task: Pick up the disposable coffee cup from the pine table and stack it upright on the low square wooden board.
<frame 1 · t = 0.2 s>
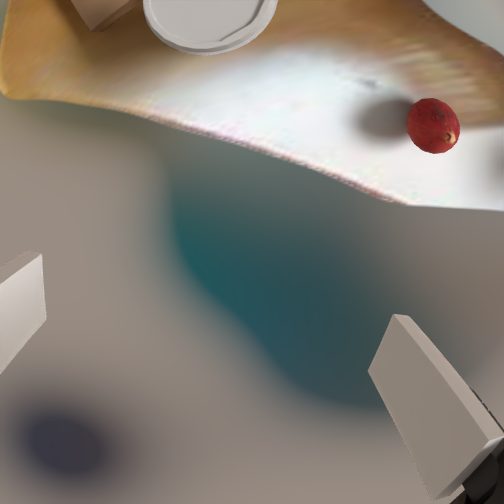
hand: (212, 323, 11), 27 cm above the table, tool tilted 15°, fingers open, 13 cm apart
disposable coffee cup: (225, 11, 26), on the table
onion: (418, 117, 31), on the table
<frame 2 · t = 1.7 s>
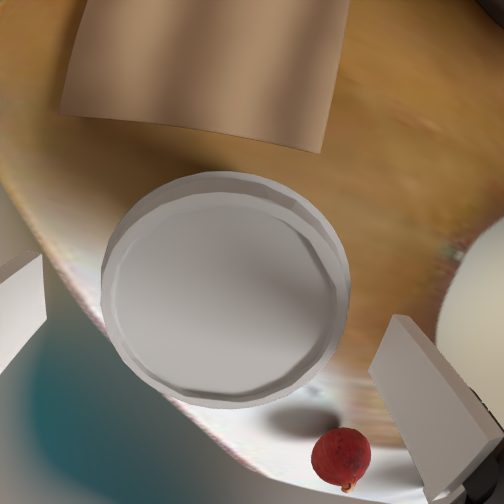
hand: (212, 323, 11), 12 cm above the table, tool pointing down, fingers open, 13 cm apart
square wooden board: (213, 17, 17), on the table
disposable coffee cup: (231, 226, 22), on the table
onion: (333, 428, 30), on the table
jar: (446, 470, 37), on the table
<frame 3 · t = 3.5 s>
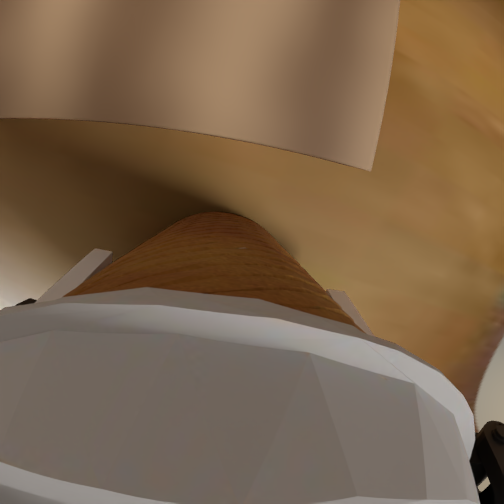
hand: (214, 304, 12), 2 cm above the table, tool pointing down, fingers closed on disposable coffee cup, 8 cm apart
disposable coffee cup: (216, 281, 14), on the table, touching gripper
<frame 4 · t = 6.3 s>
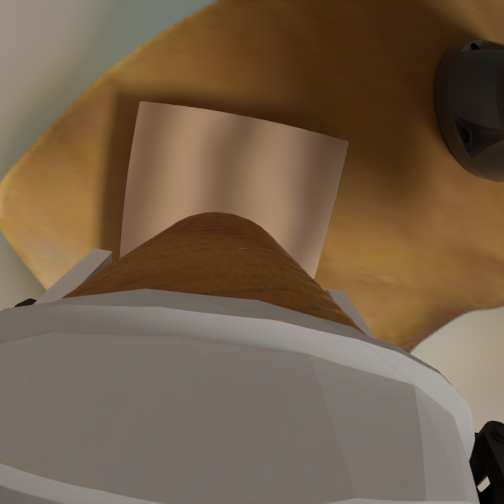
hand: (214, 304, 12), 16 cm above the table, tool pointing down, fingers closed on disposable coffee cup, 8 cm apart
square wooden board: (225, 212, 27), on the table
disposable coffee cup: (216, 282, 14), point 14 cm above the table, touching gripper
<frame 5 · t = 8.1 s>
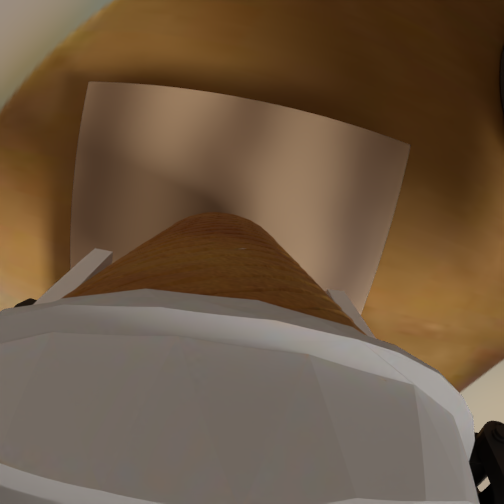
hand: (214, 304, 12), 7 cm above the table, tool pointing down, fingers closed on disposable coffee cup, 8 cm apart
square wooden board: (222, 247, 19), on the table
disposable coffee cup: (216, 282, 14), point 5 cm above the table, touching gripper
when the fingers open (5 cm above the table, at t = 9.4 s): disposable coffee cup stays where it is, resting on square wooden board.
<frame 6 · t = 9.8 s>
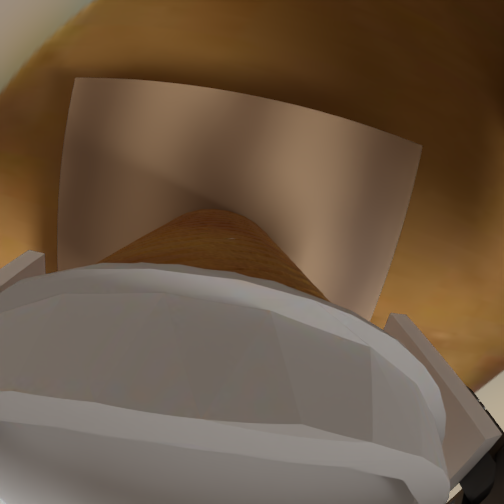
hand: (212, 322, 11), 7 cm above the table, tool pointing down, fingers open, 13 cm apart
square wooden board: (220, 255, 17), on the table
disposable coffee cup: (212, 276, 15), point 3 cm above the table, touching square wooden board
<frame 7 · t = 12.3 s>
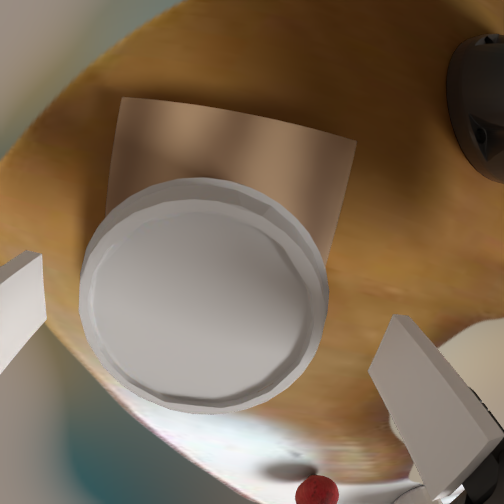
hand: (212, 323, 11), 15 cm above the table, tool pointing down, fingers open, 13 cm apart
square wooden board: (218, 220, 25), on the table
disposable coffee cup: (214, 230, 22), point 3 cm above the table, touching square wooden board
onion: (312, 474, 37), on the table
jar: (411, 495, 45), on the table
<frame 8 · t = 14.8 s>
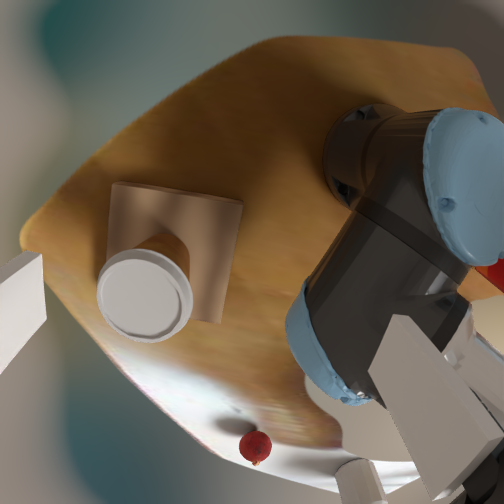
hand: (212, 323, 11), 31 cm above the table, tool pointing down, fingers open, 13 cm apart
square wooden board: (171, 249, 42), on the table
disposable coffee cup: (165, 257, 39), point 3 cm above the table, touching square wooden board
onion: (254, 430, 54), on the table
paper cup: (484, 257, 45), on the table
jar: (353, 467, 62), on the table
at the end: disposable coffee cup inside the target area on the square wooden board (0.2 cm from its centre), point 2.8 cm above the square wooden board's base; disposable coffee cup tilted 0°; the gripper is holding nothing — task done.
